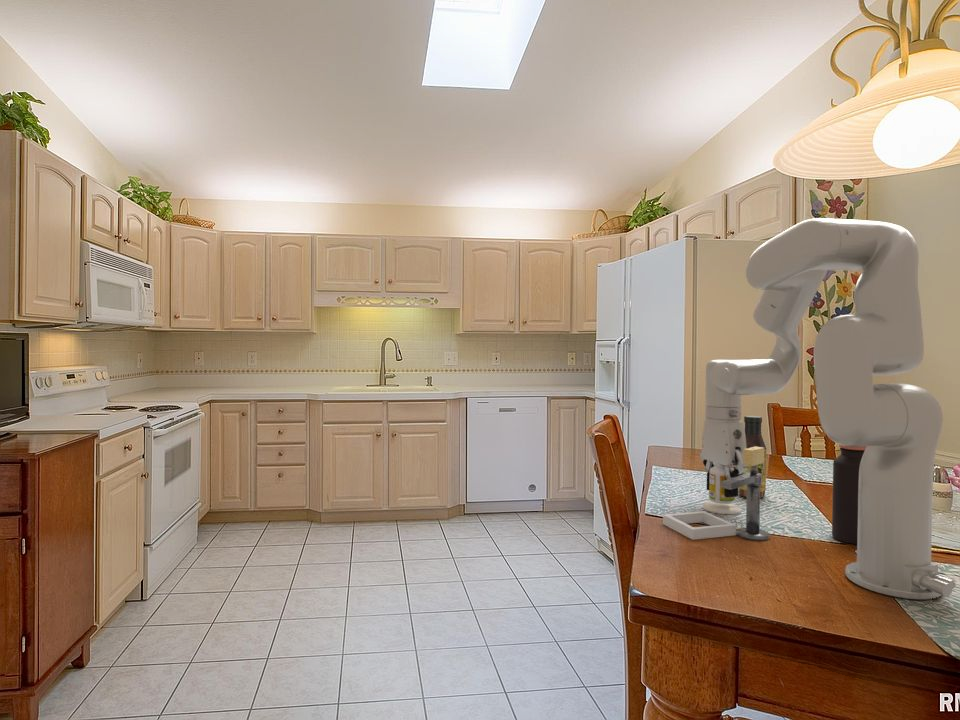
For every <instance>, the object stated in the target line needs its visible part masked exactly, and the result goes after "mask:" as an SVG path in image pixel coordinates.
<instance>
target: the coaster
mask: <svg viewBox="0 0 960 720" xmlns="http://www.w3.org/2000/svg"><path fill="white" fill-rule="evenodd" d="M702 509H703V511H705V512H708V511H709V512H708V513H712V514H716V513H717V514H718V515H725V514H733V515H737V513H738V514H740V513H741V511H742V508H741V506H740V505H738V504H735V503H731V504H721V503H715V502H712V501H705V502H703V503H702Z"/></svg>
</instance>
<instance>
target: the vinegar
mask: <svg viewBox="0 0 960 720" xmlns="http://www.w3.org/2000/svg"><path fill="white" fill-rule="evenodd" d="M838 445H839V450H840V455H838V456H837V457H836V458H835V459H834V460H833V462H832V464H833V466H832V470H833V471H832V510H831V511H832V512H831V513H832V517H831V535H832V538H834V539H835V540H837V541H839V542H842V543H846V544H850V545H855V546H857V533H858V483H859V467H860V463H861V459H862V456H863V454H864V451H865V449H866V447H867V446H865V447H849V446H843V445H840V444H838Z"/></svg>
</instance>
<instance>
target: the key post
mask: <svg viewBox="0 0 960 720" xmlns="http://www.w3.org/2000/svg"><path fill="white" fill-rule="evenodd" d="M745 502H746V504H745V506H746V510H745V511H746V514H745V517H746V518H745V524H746V525H745V527H740V528H736V535H735V536H738V537H739V538H742V539H744V540H750V541H757V542H759V541H760V542H762V541H763V542H764V541H768V540H770V537H771V535H770V533H769V532H768V531H765V530H762V529H760V518H761V498H760V486H753V485H748V484H747V497H746V501H745Z"/></svg>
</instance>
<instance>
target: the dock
mask: <svg viewBox="0 0 960 720" xmlns="http://www.w3.org/2000/svg"><path fill="white" fill-rule="evenodd" d="M697 523H699V524H700V523H704V524H707V525H704V526H694V527H693V526H692V525H690V524H697ZM662 524H663V525H664V526H666V527H667V528H669V529H671V530H673V531H675V532H677V533H679V534H681V535H683V536H684V537H686V538H688V539H690V540H692V541H693V540H703V539H704V540H705V539H714V538H722V537H724V538H725V537H732V536H737V535H736V530H737V524H735V523H733V522H730V521H728V520H725V519H723V518H720V517H719V516H716V515H714V514H713V513H712V514H711V512H708V511H706V510H701V511H691V512H689V511H688V512H680V513H677V512H676V513H669V514H668V513H667V514H662Z"/></svg>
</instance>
